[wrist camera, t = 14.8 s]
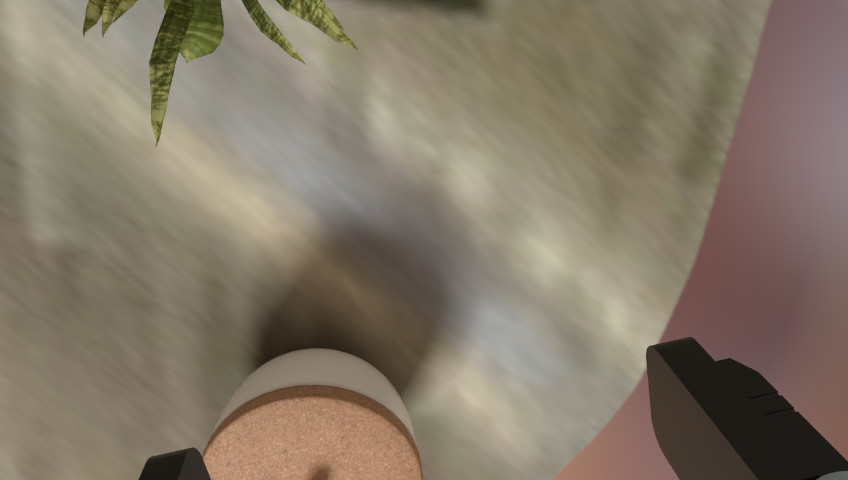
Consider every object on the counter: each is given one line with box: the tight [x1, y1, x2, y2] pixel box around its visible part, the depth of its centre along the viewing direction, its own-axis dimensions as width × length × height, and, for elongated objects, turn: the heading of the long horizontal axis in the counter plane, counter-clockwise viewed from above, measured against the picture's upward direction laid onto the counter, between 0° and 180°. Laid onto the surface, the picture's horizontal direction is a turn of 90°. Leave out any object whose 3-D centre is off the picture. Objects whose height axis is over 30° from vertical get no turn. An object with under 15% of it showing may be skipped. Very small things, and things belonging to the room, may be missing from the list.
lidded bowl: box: [202, 348, 423, 480], centre depth 42 cm, size 13×13×11 cm
